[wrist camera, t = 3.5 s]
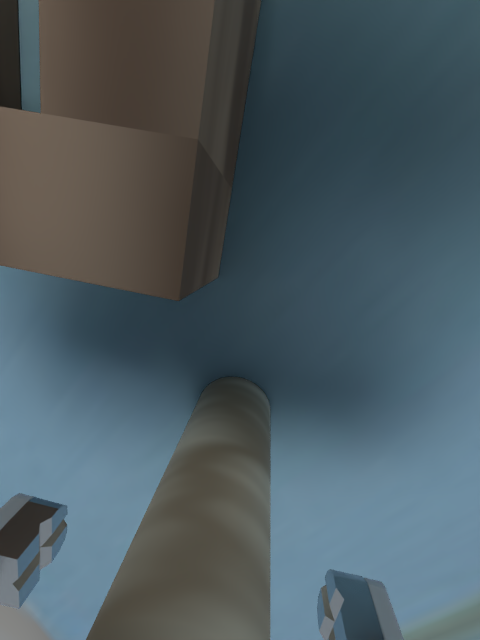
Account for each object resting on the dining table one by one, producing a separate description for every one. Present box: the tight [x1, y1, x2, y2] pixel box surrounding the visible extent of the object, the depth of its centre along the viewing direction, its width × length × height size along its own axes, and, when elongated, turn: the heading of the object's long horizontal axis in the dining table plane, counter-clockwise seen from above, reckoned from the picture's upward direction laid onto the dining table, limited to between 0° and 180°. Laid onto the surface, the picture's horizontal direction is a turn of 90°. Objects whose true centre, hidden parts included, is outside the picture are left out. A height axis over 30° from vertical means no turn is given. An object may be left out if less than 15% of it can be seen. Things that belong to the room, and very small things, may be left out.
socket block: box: [0, 0, 261, 301], centre depth 9 cm, size 14×14×6 cm
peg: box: [86, 377, 270, 640], centre depth 10 cm, size 4×4×10 cm
